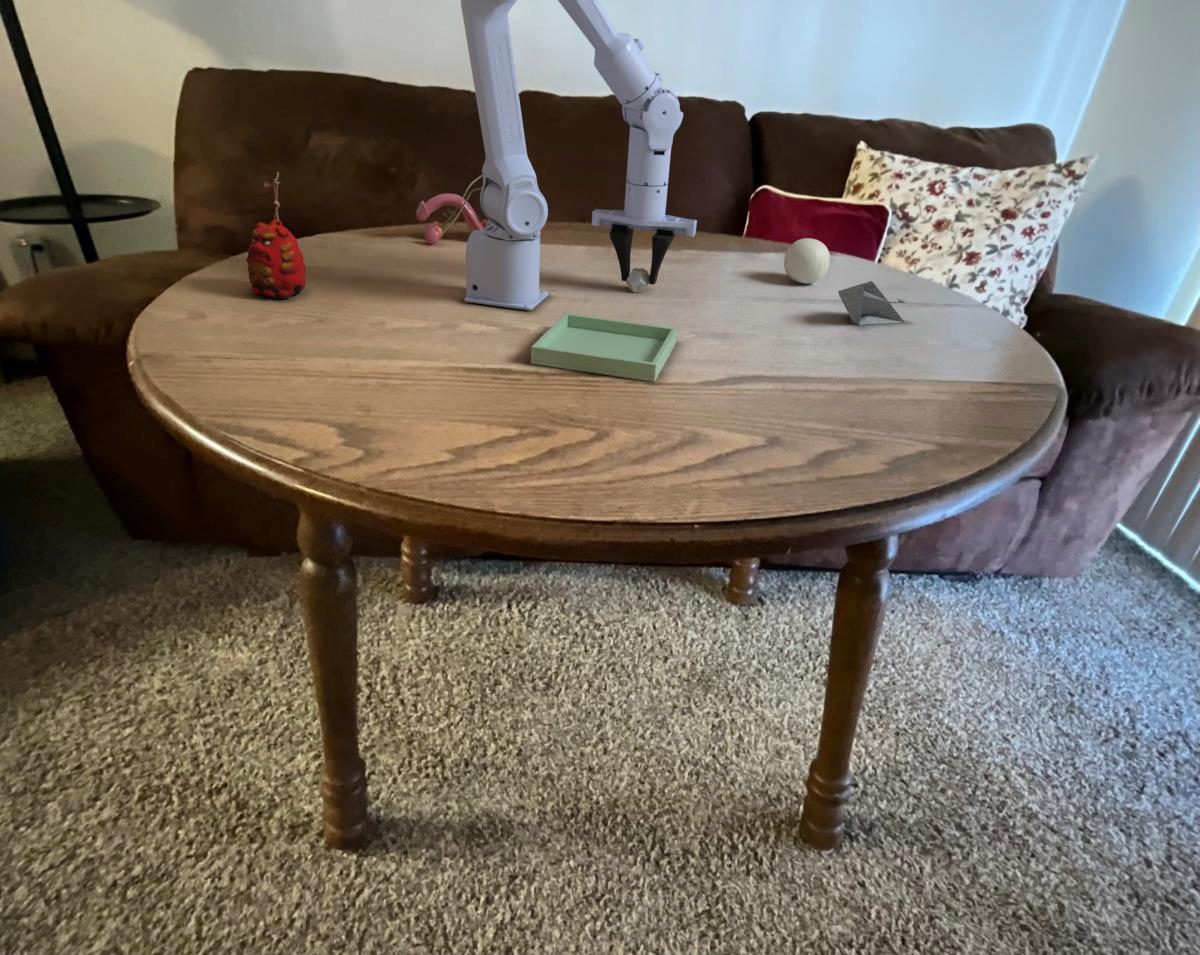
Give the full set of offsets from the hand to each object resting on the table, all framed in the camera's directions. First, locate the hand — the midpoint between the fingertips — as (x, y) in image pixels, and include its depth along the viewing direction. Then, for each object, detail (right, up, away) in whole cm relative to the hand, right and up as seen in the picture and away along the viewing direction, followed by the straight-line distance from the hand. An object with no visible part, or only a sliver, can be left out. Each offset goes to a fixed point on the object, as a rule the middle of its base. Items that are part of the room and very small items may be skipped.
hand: (639, 281), depth 122 cm
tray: (-5, -14, -23) cm, 27 cm away
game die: (0, -1, +1) cm, 2 cm away
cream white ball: (+26, +2, +10) cm, 28 cm away
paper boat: (+31, -8, -7) cm, 32 cm away
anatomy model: (-28, +11, +21) cm, 37 cm away
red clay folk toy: (-48, -4, -10) cm, 49 cm away
